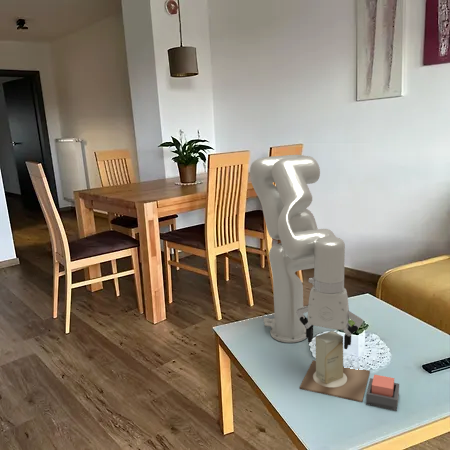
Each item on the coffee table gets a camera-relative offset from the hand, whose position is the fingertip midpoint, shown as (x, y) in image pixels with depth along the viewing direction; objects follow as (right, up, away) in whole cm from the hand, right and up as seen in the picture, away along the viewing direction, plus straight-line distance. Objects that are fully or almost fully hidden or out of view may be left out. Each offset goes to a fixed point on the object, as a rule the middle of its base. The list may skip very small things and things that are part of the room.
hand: (328, 343), depth 115 cm
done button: (+12, -9, -9) cm, 17 cm away
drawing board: (+2, -10, +1) cm, 11 cm away
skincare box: (+1, -10, +2) cm, 10 cm away
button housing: (+12, -12, -8) cm, 18 cm away
